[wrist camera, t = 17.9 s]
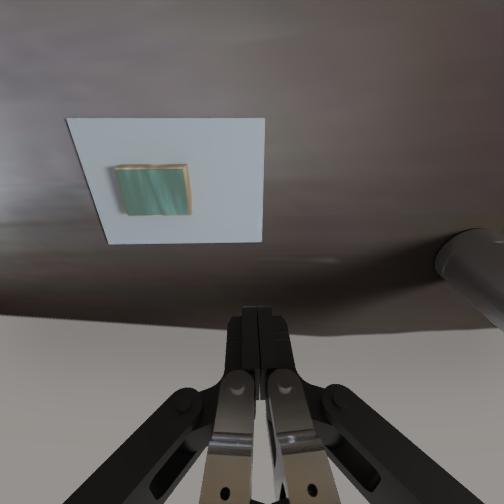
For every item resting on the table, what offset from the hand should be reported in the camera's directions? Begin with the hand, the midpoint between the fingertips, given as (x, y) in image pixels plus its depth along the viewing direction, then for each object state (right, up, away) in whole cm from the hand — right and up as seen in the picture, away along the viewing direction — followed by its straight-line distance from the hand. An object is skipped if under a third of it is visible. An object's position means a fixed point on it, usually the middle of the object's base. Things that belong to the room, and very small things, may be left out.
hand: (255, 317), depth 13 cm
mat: (-10, +12, +19) cm, 25 cm away
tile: (-8, +11, +18) cm, 23 cm away
